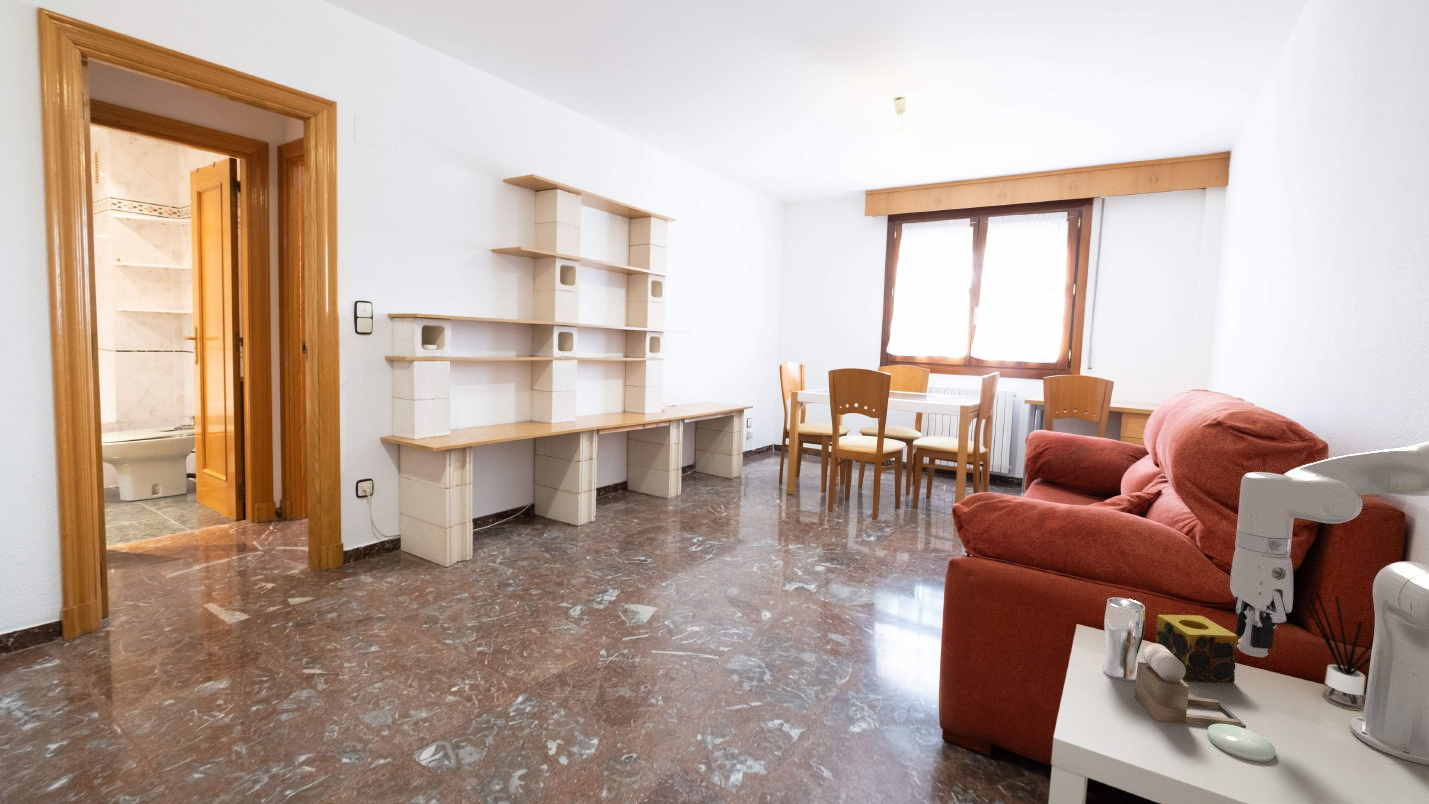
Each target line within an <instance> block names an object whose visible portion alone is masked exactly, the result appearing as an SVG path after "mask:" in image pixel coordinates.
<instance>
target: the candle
mask: <svg viewBox="0 0 1429 804" xmlns="http://www.w3.org/2000/svg"><path fill="white" fill-rule="evenodd" d="M1155 629H1156V636H1155V637H1156V638H1155V639H1156V641H1155V644H1161V645H1163V646H1164V647H1165V648H1166V649H1168V650H1169V651H1170V652H1171V653H1172V654H1173V655H1174V656H1175V657H1176V658H1177V659H1178V660H1180V661H1181V662H1182V663H1183V664H1184V666H1185V669H1186V672H1185V675H1184V677H1183V678H1182V680H1183V681H1186V682H1201V683H1217V682H1221V683H1235V682H1236V681H1235V680H1236V679H1235V677H1236V675H1235V674H1236V672H1235V671H1236V667H1237V666H1236V660H1235V650H1236V648H1237V644H1238V640H1239V638H1238V636H1237V635H1236V633H1234V632H1231V631H1230V630H1229V629H1227V628H1224V627H1223V626H1221V625H1219V624H1217V623H1215V622H1214V621H1212V620H1210V619H1209V618H1207V617H1205V616H1202V615H1193V614H1178V615H1177V614H1157V617H1156V627H1155Z"/></svg>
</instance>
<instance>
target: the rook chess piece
mask: <svg viewBox="0 0 1429 804" xmlns="http://www.w3.org/2000/svg"><path fill="white" fill-rule="evenodd" d="M1244 613H1245V615H1246V616H1247V619H1246V620H1245V622H1246V628H1245V631H1244V634H1243V635H1242V636H1241V637H1239V638H1238V640H1237V644H1236V648H1237V649H1238V650H1239V651H1240V652H1241V653H1243V654H1245V655H1248V656H1251V657H1256V658H1265V657H1267V656H1268V655H1269V651H1268V650H1269V649H1265V648H1254V647H1252V646H1251V645H1250V641H1251V630H1252V624H1253V625H1255V608H1254V607H1252V609H1251V607H1247V610H1246V611H1244ZM1266 615H1267V613H1263V617H1265V616H1266Z"/></svg>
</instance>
